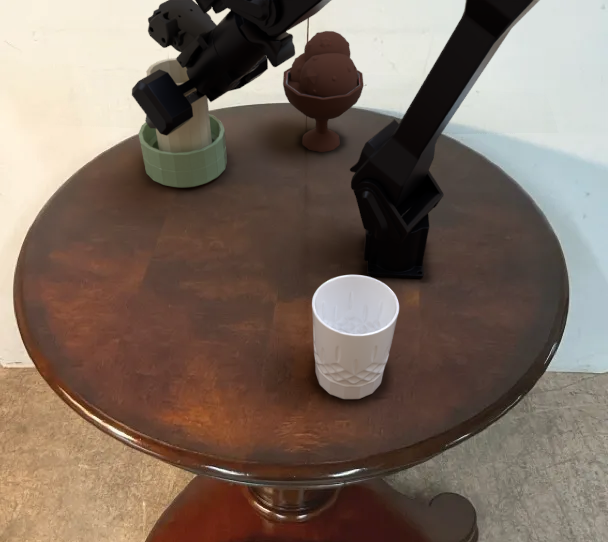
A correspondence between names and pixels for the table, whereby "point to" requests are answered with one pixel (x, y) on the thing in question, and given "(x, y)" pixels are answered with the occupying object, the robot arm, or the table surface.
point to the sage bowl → (184, 159)
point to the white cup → (352, 334)
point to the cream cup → (197, 128)
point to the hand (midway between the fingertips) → (173, 108)
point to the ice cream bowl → (323, 86)
